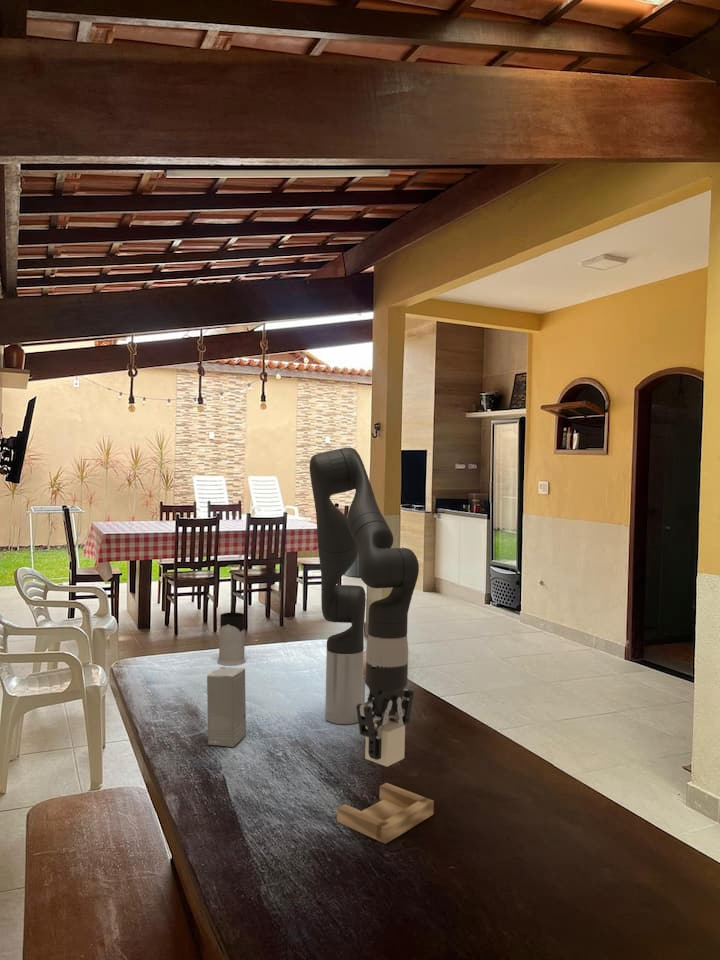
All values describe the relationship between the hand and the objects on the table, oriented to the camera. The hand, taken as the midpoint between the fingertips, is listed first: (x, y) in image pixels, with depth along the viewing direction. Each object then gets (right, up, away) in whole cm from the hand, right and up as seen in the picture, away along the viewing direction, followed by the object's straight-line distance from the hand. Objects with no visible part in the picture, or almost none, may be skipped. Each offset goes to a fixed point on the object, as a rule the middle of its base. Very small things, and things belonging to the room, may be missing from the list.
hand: (384, 753), depth 130 cm
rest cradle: (+1, -12, 0) cm, 12 cm away
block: (0, -1, 0) cm, 1 cm away
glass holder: (-45, -9, +102) cm, 112 cm away
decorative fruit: (-1, -10, +82) cm, 83 cm away
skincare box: (-35, -10, +35) cm, 51 cm away
